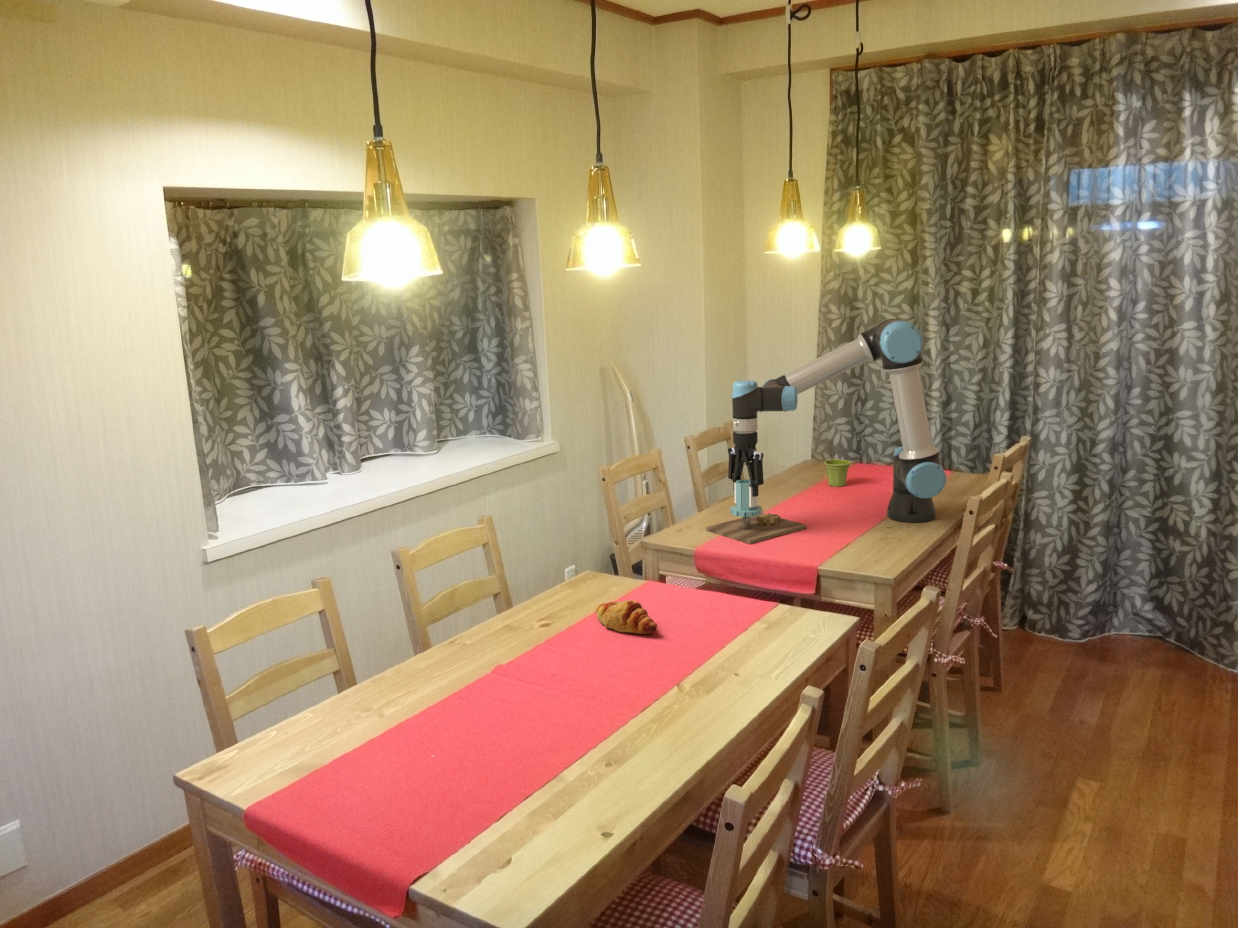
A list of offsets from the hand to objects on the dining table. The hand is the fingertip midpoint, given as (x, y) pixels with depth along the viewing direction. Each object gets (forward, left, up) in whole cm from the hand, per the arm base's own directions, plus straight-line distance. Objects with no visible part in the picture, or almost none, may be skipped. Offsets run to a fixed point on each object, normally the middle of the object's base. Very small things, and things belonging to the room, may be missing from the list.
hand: (745, 504), depth 306 cm
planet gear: (0, 0, -3) cm, 3 cm away
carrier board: (0, -4, -9) cm, 10 cm away
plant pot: (+21, -65, -9) cm, 69 cm away
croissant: (-38, +74, -9) cm, 83 cm away
